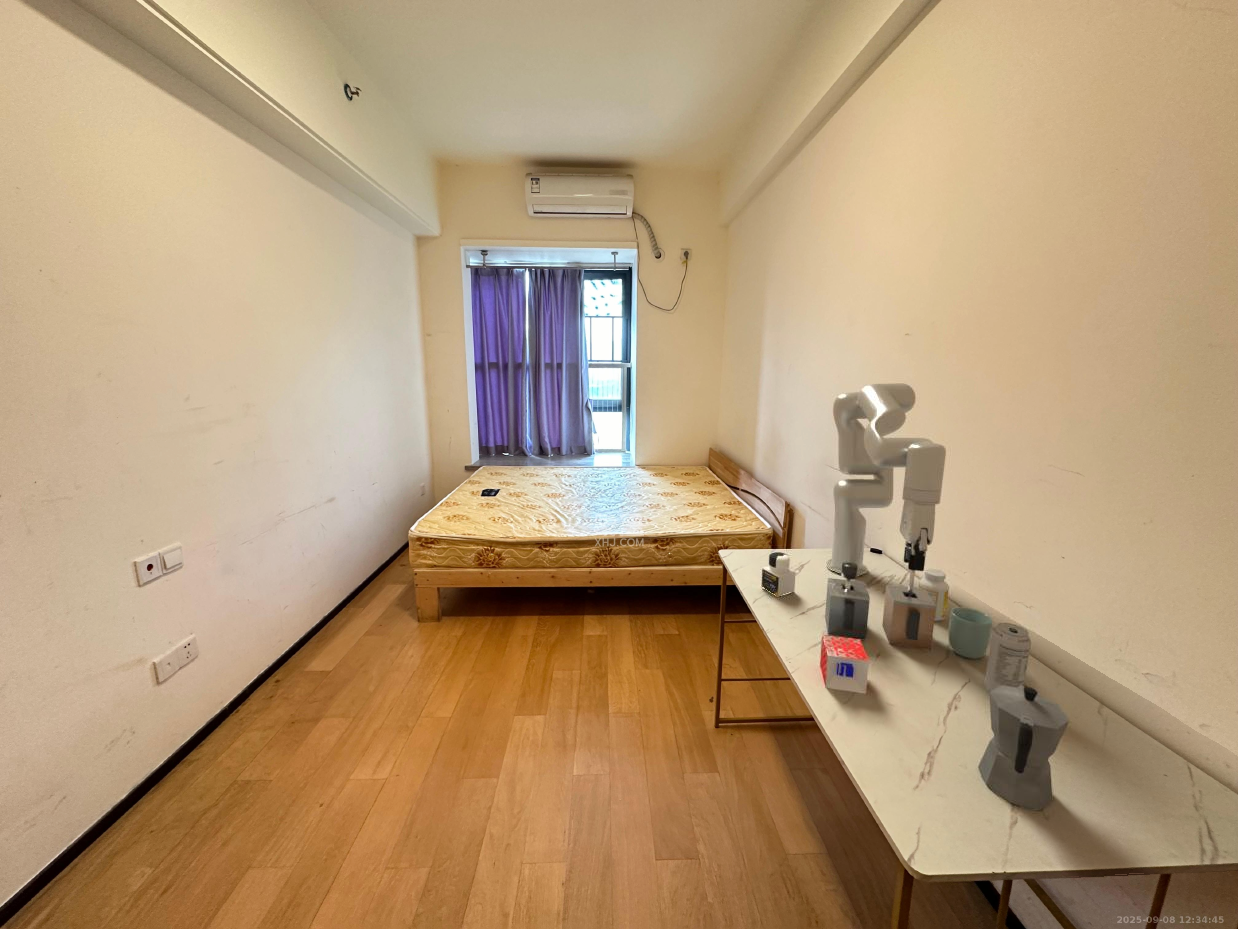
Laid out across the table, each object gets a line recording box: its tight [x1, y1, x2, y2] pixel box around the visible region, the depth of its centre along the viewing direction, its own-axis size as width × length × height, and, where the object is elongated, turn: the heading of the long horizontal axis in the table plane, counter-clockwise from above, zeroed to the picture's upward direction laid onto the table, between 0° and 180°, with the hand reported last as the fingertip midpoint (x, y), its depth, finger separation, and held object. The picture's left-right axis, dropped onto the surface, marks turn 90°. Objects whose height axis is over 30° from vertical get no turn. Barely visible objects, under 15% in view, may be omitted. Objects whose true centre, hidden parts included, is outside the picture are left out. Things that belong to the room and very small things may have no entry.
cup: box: [947, 606, 994, 659], centre depth 107 cm, size 8×8×10 cm
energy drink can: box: [984, 622, 1032, 693], centre depth 93 cm, size 6×6×15 cm
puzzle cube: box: [819, 634, 870, 695], centre depth 100 cm, size 8×8×8 cm
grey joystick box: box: [824, 577, 871, 641], centre depth 118 cm, size 10×9×12 cm
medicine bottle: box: [761, 551, 797, 597], centre depth 140 cm, size 7×7×12 cm
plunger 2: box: [906, 545, 919, 598], centre depth 111 cm, size 6×6×16 cm
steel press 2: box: [881, 584, 936, 651], centre depth 113 cm, size 10×9×12 cm
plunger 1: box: [840, 562, 858, 590], centre depth 117 cm, size 6×6×16 cm
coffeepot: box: [977, 684, 1070, 811], centre depth 71 cm, size 15×9×18 cm, turn 137°
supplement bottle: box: [918, 568, 950, 622], centre depth 123 cm, size 7×7×13 cm
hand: (913, 565), depth 111 cm, fingers closed on plunger 2, 3 cm apart
